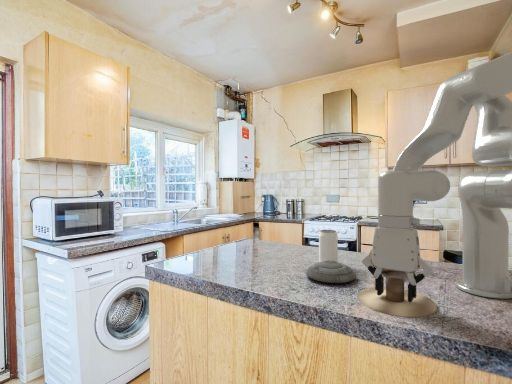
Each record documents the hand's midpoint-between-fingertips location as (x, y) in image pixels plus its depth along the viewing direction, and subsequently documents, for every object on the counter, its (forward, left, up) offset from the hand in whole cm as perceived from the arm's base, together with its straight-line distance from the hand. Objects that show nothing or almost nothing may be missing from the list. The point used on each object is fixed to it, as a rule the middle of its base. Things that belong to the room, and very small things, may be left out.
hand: (395, 296), depth 70 cm
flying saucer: (+20, -8, -2) cm, 22 cm away
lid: (0, 0, -2) cm, 2 cm away
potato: (+9, -26, -1) cm, 28 cm away
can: (+27, -22, -1) cm, 35 cm away
